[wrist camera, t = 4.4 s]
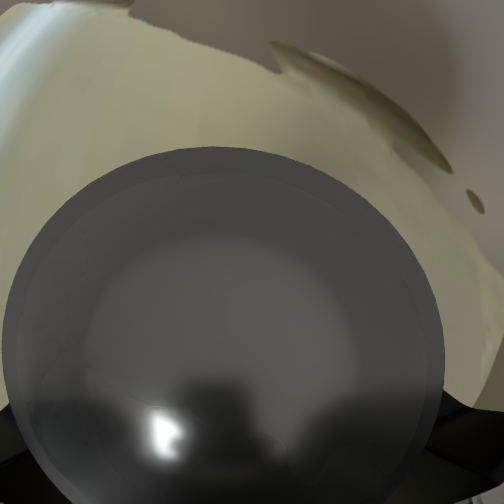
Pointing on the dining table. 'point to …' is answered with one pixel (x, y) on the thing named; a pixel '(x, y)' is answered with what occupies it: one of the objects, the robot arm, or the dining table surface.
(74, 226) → the metal canister
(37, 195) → the dining table surface
